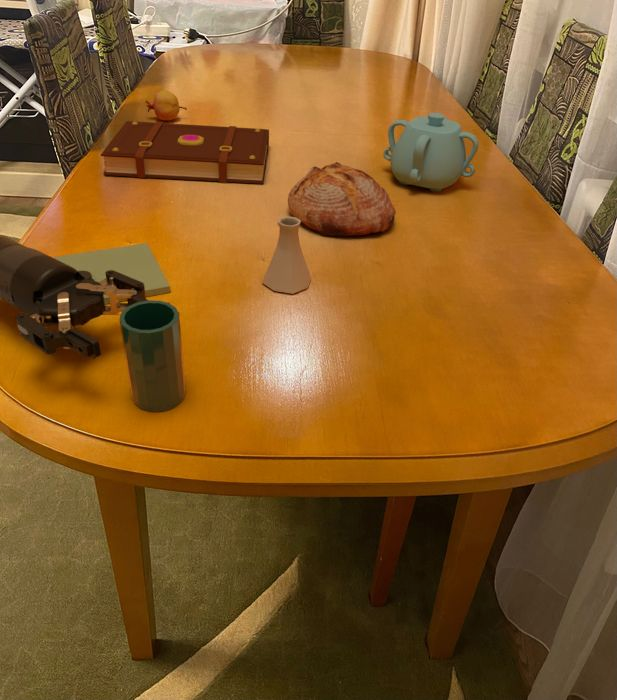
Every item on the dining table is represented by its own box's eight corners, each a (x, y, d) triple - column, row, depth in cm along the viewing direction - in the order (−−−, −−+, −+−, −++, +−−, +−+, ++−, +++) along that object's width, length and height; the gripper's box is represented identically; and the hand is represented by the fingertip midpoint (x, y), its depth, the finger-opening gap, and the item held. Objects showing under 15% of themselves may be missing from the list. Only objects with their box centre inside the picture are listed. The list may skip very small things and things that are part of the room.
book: (263, 185, 121) (263, 160, 118) (103, 176, 119) (99, 151, 116) (268, 146, 139) (269, 124, 136) (130, 138, 137) (127, 116, 134)
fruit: (186, 91, 150) (144, 89, 149) (186, 91, 144) (142, 89, 142) (187, 120, 153) (146, 119, 151) (187, 122, 147) (144, 120, 145)
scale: (66, 313, 82) (63, 297, 80) (53, 263, 92) (49, 248, 90) (171, 293, 87) (170, 278, 86) (147, 248, 97) (146, 234, 96)
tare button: (73, 292, 82) (71, 282, 81) (70, 282, 84) (68, 272, 83) (94, 288, 83) (93, 278, 82) (91, 278, 85) (89, 269, 84)
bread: (292, 200, 118) (295, 148, 112) (394, 211, 116) (401, 158, 111) (279, 233, 104) (281, 175, 99) (393, 245, 103) (401, 187, 97)
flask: (279, 265, 95) (281, 206, 89) (319, 279, 93) (324, 218, 87) (253, 284, 90) (253, 223, 84) (294, 300, 88) (298, 237, 82)
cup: (139, 417, 67) (126, 337, 60) (127, 384, 71) (114, 306, 64) (191, 404, 69) (185, 325, 62) (177, 372, 73) (170, 295, 67)
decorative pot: (376, 167, 132) (384, 102, 124) (444, 165, 136) (456, 101, 127) (401, 197, 120) (412, 128, 112) (476, 194, 123) (491, 126, 115)
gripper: (88, 286, 81) (176, 330, 75) (-10, 334, 72) (81, 390, 65) (78, 235, 77) (171, 278, 70) (-27, 280, 67) (68, 334, 60)
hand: (127, 332), depth 67 cm, fingers open, 8 cm apart
